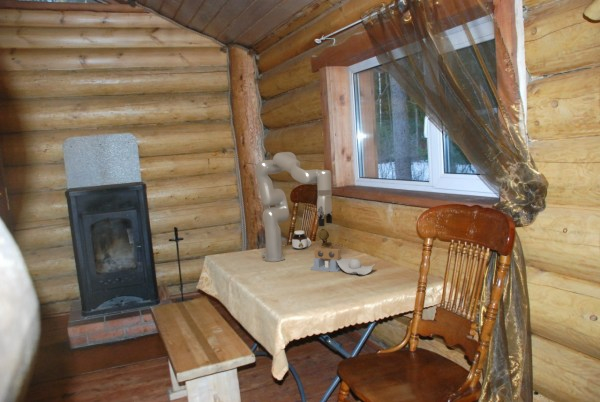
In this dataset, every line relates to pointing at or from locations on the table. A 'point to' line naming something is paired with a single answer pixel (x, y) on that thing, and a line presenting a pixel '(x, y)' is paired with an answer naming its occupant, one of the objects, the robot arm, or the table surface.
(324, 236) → the wooden mug
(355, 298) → the table surface
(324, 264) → the display stand
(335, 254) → the tan wooden plank
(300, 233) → the spread jar
